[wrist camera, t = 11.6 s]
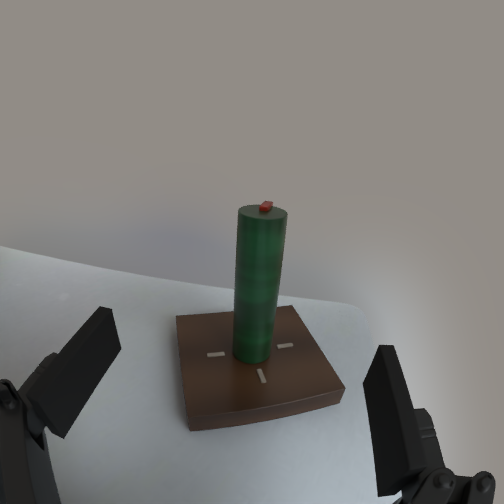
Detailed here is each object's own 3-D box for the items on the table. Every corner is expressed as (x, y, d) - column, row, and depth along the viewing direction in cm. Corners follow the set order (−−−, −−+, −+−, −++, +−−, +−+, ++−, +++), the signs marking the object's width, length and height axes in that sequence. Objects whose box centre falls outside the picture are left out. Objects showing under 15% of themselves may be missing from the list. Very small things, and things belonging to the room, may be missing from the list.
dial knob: (265, 367, 23) (283, 217, 18) (226, 358, 23) (231, 209, 18) (274, 343, 25) (291, 204, 20) (239, 335, 26) (247, 198, 21)
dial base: (339, 403, 22) (346, 386, 21) (190, 431, 18) (187, 416, 18) (289, 319, 32) (292, 303, 31) (177, 331, 29) (175, 314, 28)
